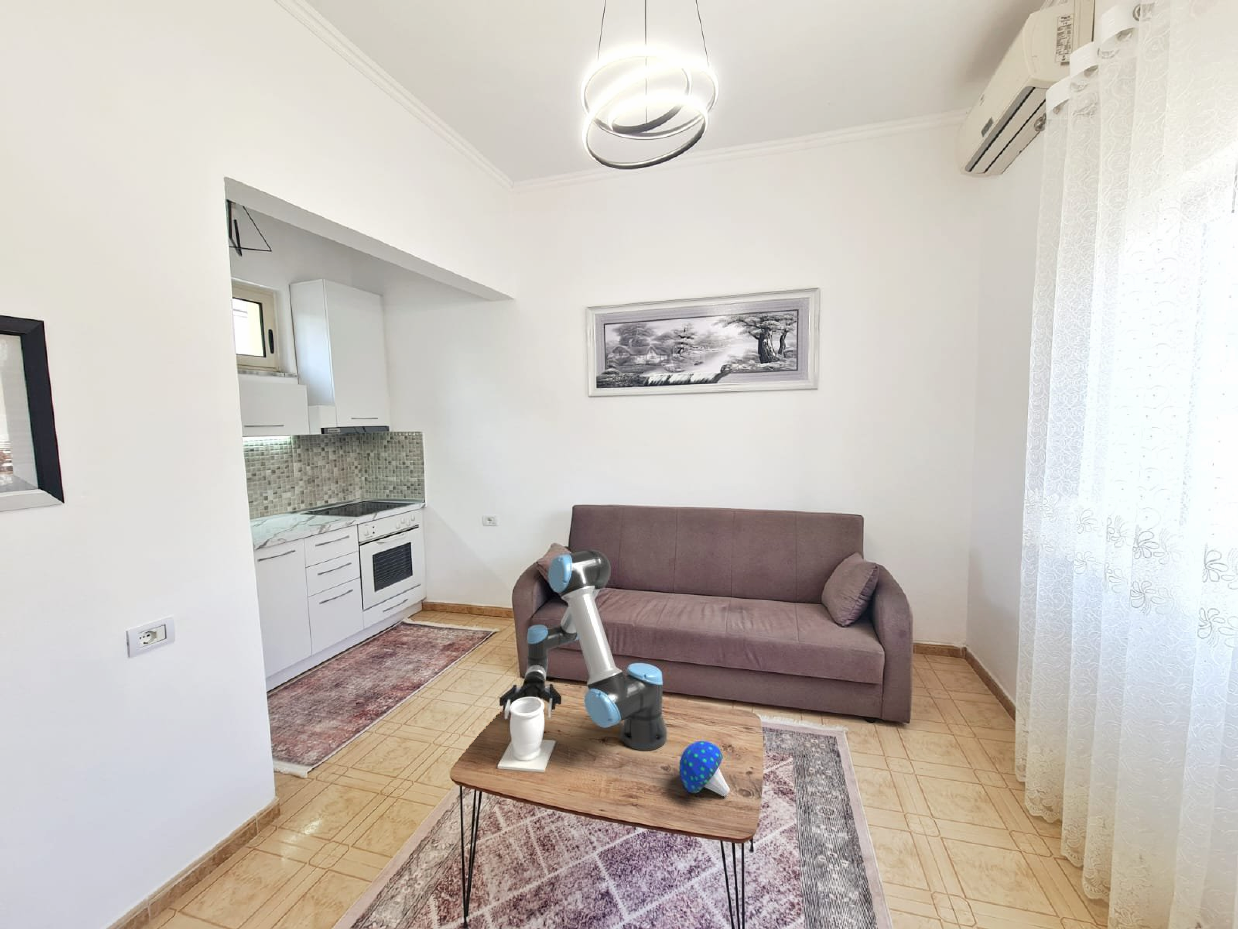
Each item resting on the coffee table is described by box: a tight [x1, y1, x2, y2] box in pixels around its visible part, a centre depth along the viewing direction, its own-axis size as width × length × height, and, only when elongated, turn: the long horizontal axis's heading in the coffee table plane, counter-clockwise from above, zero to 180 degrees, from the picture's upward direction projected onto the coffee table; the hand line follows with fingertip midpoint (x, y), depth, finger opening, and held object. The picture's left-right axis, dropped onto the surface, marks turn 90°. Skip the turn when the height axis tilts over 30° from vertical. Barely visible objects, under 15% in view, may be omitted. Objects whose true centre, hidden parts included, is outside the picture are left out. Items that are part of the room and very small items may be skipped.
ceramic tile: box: [497, 739, 556, 773], centre depth 151 cm, size 14×14×1 cm
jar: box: [509, 697, 545, 761], centre depth 151 cm, size 11×10×15 cm
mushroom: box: [679, 740, 731, 798], centre depth 137 cm, size 14×14×15 cm
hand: (527, 714), depth 154 cm, fingers open, 13 cm apart
